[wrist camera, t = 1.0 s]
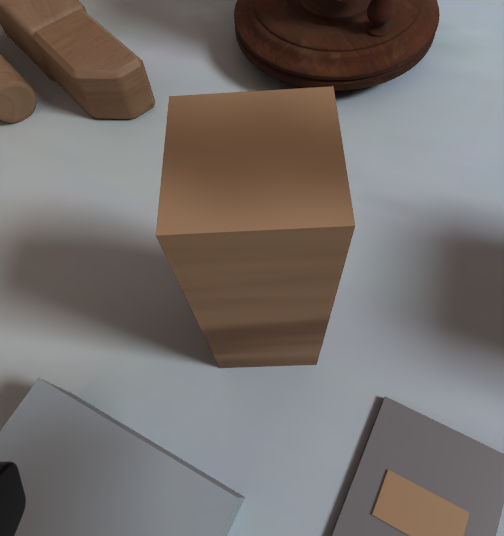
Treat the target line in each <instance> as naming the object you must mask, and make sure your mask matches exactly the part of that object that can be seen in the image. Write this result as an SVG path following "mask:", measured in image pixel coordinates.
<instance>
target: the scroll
mask: <svg viewBox="0 0 504 536" xmlns="http://www.w3.org/2000/svg"><path fill="white" fill-rule="evenodd" d="M234 19H235V31H236V37H237V41H238V44H239V46H240V48H241V50H242V51H243V53H244V54H245V56H246V57H247V58H248V59H249V60H250V61H251V62H252V63H253V64H254V65H255V66H256V67H257V68H259V69H260V70H262V71H263V72H265V73H266V74H268V75H270V76H272V77H274V78H276V79H278V80H280V81H283V82H286V83H289V84H292V85H295V86H299V87H304V88H315V87H331V86H334V91H341V90H354V89H361V88H366V87H371V86H375V85H378V84H381V83H384V82H387V81H389V80H392V79H394V78H396V77H398V76H400V75H402V74H404V73H405V72H407V71H408V70H410V69H411V68H412V67H414V66H415V65H416V64H417V63H418V62H419V61H420V60H421V59H422V58H423V57H424V56H425V55H426V53H427V52H428V50H429V48H430V47H431V44H432V42H433V39H434V36H435V32H436V30H437V27H438V23H439V7H438V3H437V0H237V3H236V6H235V12H234Z"/></svg>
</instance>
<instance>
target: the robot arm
mask: <svg viewBox="0 0 504 536" xmlns="http://www.w3.org/2000/svg"><path fill="white" fill-rule="evenodd" d="M25 506H26V496H25V492H24V488H23V485H22V481H21V477H20V473H19V470H18V467H17V465H16V464H15V463H14V462H11V461H4V462H0V536H15V533H16V531H17V528H18V526H19V523H20V521H21V518H22V516H23V513H24V510H25Z"/></svg>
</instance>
